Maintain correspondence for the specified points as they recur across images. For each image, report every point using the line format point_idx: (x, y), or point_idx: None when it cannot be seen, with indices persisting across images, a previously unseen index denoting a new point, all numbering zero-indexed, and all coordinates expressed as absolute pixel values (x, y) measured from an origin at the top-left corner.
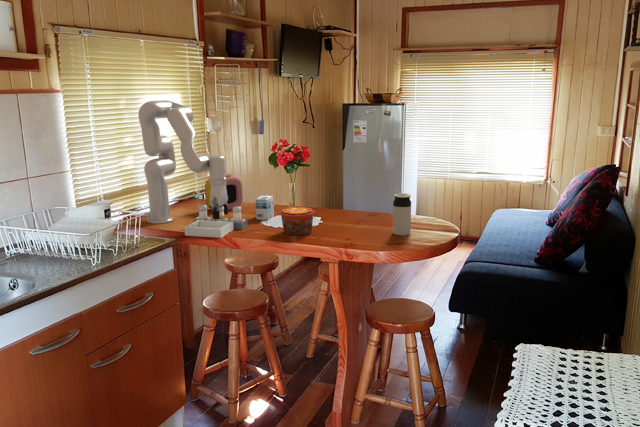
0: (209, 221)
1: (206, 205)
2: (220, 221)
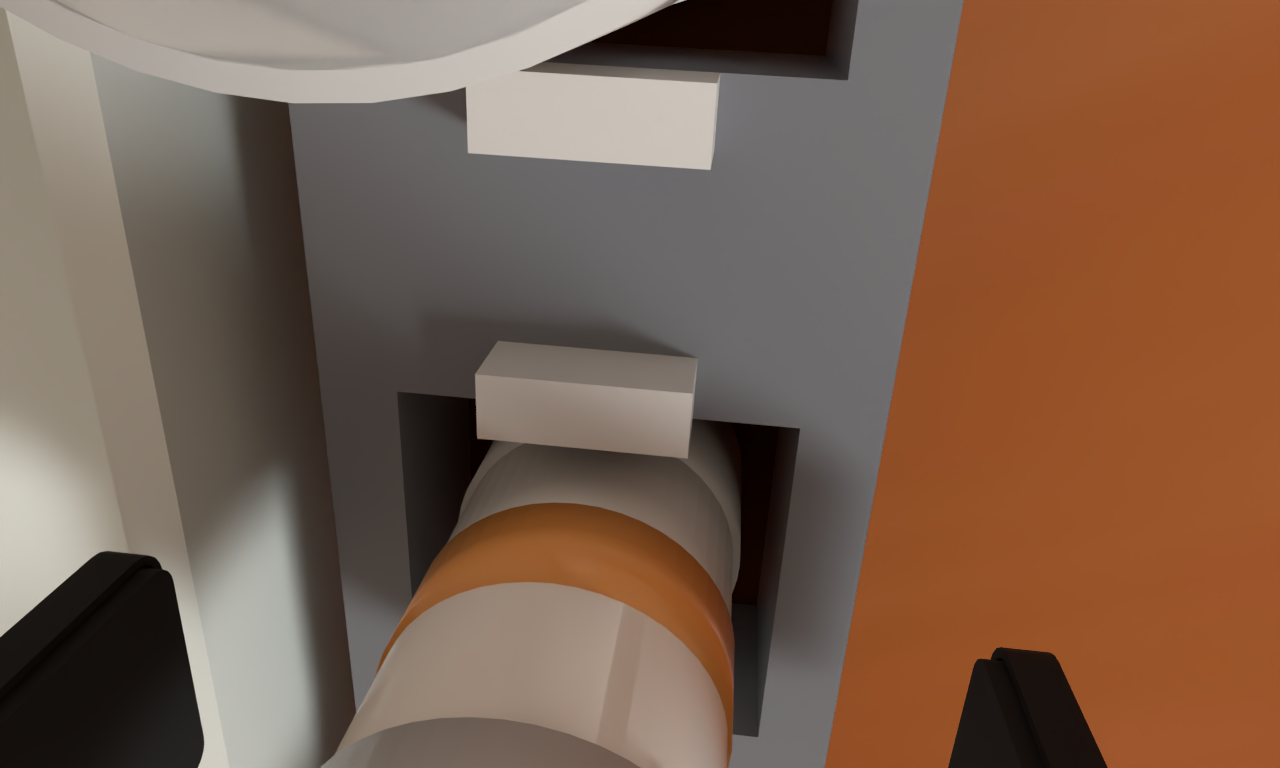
0: (99, 364)
1: (472, 63)
2: None
